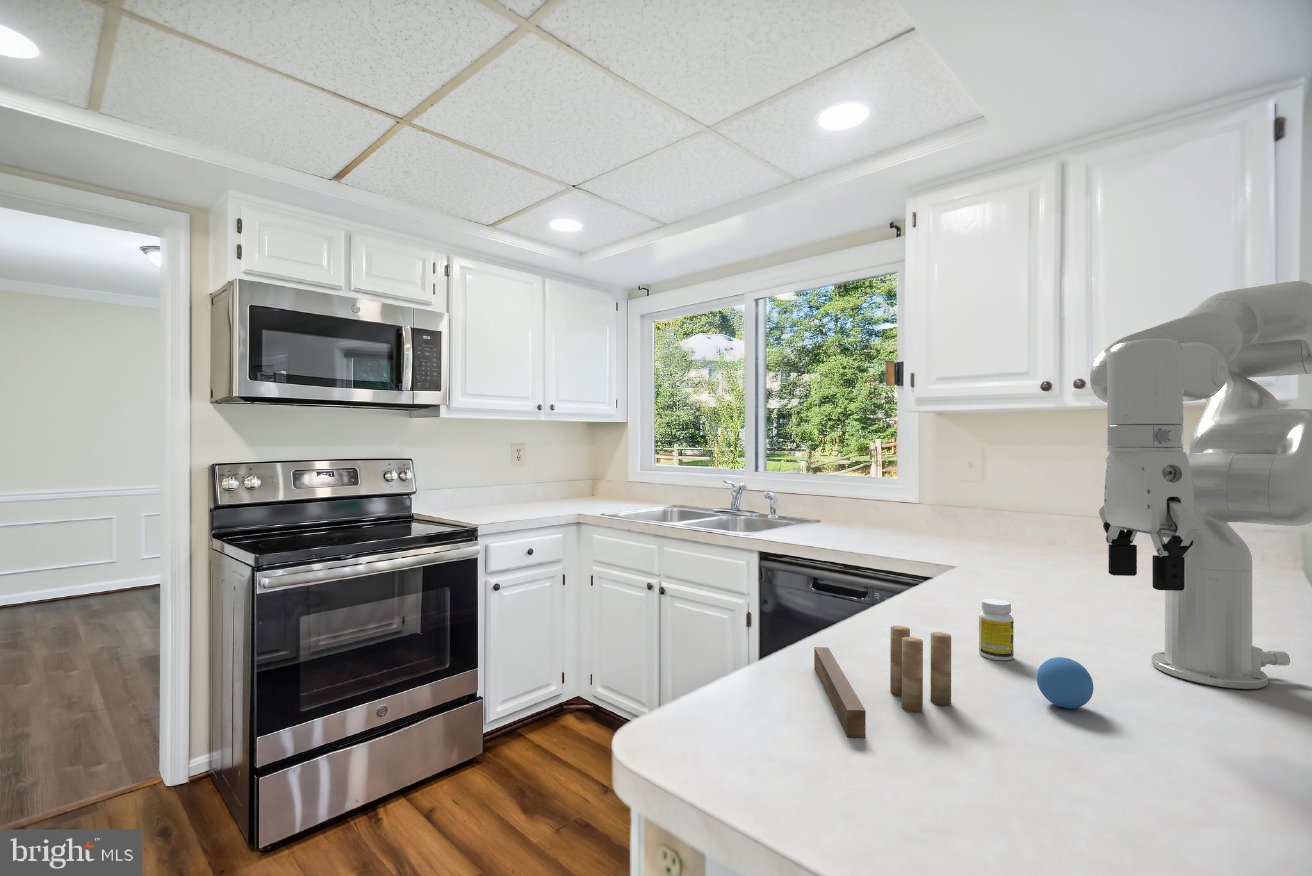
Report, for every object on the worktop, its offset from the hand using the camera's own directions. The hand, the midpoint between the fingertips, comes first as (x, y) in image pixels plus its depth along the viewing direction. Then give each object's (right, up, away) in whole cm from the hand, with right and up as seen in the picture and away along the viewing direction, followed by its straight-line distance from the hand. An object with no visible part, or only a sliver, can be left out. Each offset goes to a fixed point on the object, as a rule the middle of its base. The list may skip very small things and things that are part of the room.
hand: (1144, 581), depth 79 cm
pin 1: (-29, -16, +5) cm, 33 cm away
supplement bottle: (-8, -16, +20) cm, 27 cm away
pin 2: (-29, -16, 0) cm, 33 cm away
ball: (-9, -13, +1) cm, 16 cm away
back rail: (-37, -16, +3) cm, 41 cm away
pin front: (-24, -16, +2) cm, 29 cm away
